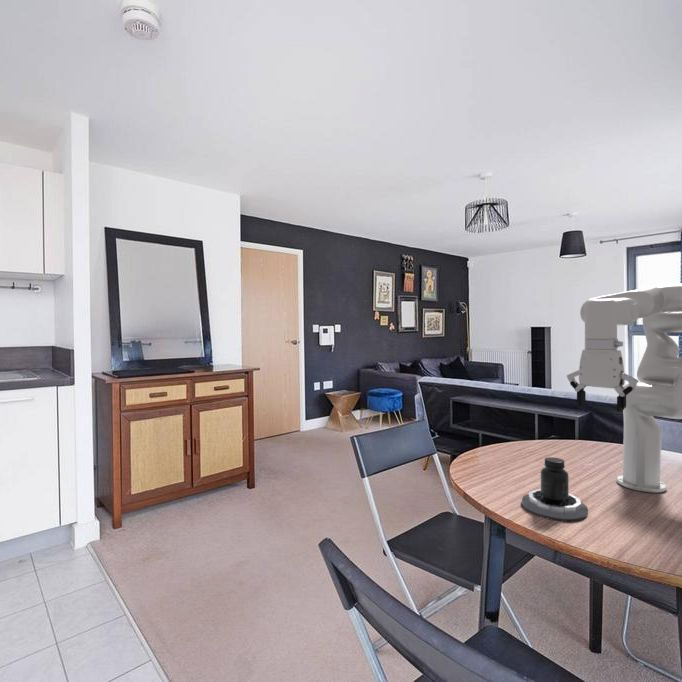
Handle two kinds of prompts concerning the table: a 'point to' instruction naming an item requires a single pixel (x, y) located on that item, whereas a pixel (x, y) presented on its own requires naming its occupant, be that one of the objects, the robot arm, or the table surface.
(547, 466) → the supplement bottle
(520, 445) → the table surface
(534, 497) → the rosette plate
